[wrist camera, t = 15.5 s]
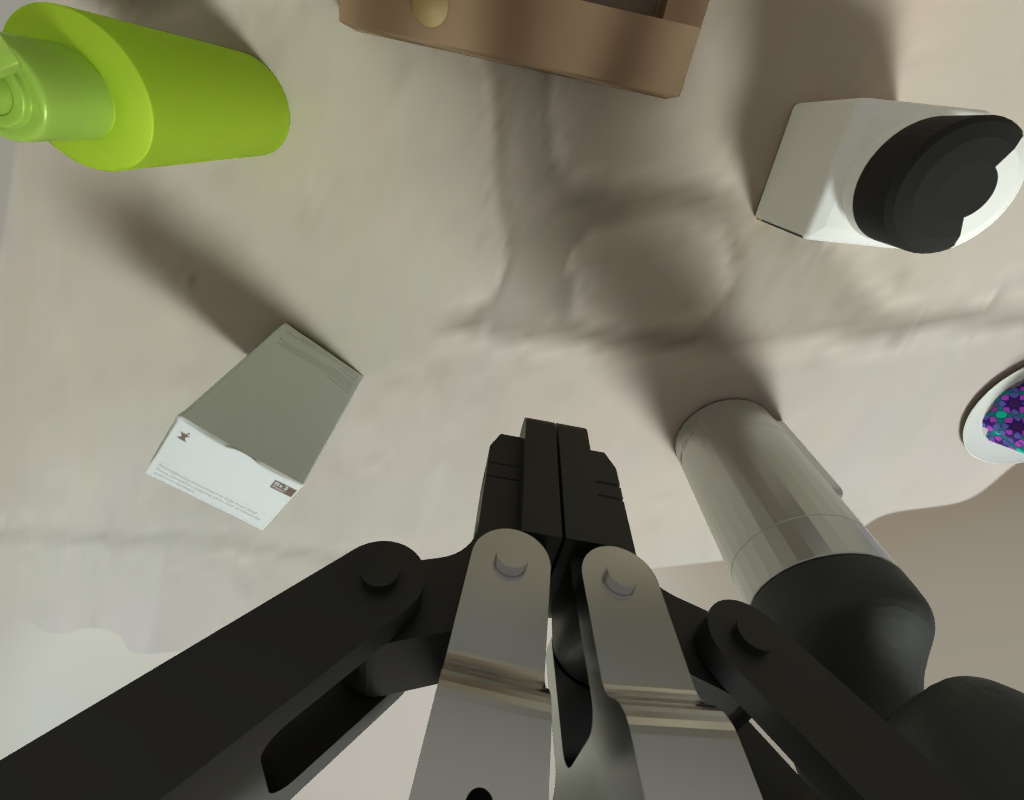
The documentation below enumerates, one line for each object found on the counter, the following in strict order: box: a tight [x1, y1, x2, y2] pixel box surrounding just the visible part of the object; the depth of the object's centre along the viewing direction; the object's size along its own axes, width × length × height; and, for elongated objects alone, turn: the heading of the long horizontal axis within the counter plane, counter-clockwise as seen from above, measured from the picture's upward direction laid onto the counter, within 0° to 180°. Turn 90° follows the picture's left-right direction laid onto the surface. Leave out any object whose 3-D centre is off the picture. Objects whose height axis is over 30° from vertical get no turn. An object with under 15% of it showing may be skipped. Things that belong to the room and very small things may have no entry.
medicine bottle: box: [756, 98, 1024, 254], centre depth 26 cm, size 7×7×12 cm
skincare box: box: [145, 323, 363, 530], centre depth 34 cm, size 8×6×15 cm
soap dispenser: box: [0, 2, 290, 171], centre depth 21 cm, size 6×7×20 cm
